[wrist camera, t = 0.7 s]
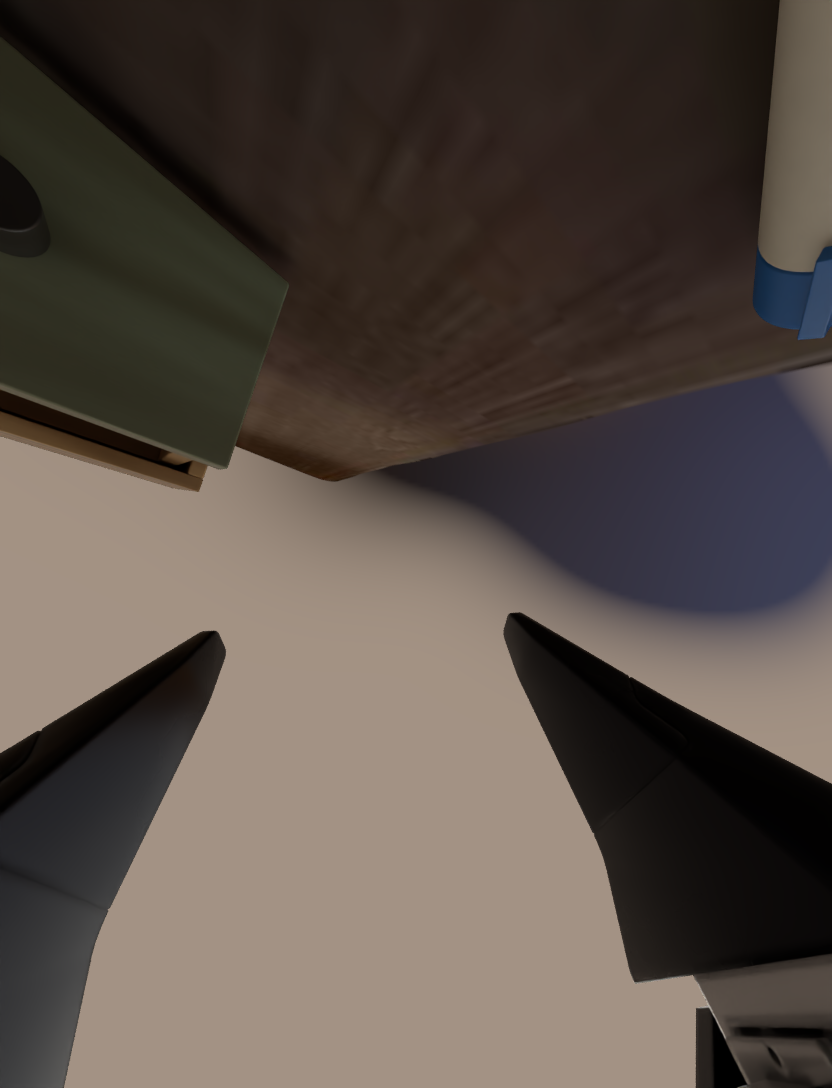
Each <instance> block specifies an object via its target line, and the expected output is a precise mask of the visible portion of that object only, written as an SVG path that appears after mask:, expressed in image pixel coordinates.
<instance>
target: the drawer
mask: <svg viewBox="0 0 832 1088" xmlns="http://www.w3.org/2000/svg"><path fill="white" fill-rule="evenodd" d="M288 287H289V283H288V282H287V281H286V280H284V279H283V278H282V277H281V276H280V275H279V274H277V273H276V272H275V271H274V270H273V269H272V268H270V267H269V266H268V265H267V264H266V263H265V262H263V261H262V260H261V259H260V258H259V257H258V256H256V255H255V254H254V253H253V252H252V251H251V250H249V249H248V248H247V247H246V246H245V245H244V244H242V243H241V242H240V241H239V240H238V239H237V238H235V237H234V236H233V235H232V234H231V233H230V232H228V231H227V230H226V229H225V228H224V227H223V226H221V225H220V224H219V223H218V222H217V221H216V220H214V219H213V218H212V217H211V216H210V215H209V214H207V213H206V212H205V211H204V210H203V209H202V208H200V207H199V206H198V205H197V204H196V203H195V202H193V201H192V200H191V199H190V198H189V197H188V196H186V195H185V194H184V193H183V192H182V191H181V190H179V189H178V188H177V187H176V186H175V185H174V184H172V183H171V182H170V181H169V180H168V179H167V178H165V177H164V176H163V175H162V174H161V173H160V172H158V171H157V170H156V169H155V168H154V167H153V166H151V165H150V164H149V163H148V162H147V161H146V160H144V159H143V158H142V157H141V156H140V155H139V154H137V153H136V152H135V151H134V150H133V149H132V148H130V147H129V146H128V145H127V144H126V143H125V142H123V141H122V140H121V139H120V138H119V137H118V136H116V135H115V134H114V133H113V132H112V131H111V130H109V129H108V128H107V127H106V126H105V125H104V124H102V123H101V122H100V121H99V120H98V119H97V118H95V117H94V116H93V115H92V114H91V113H90V112H88V111H87V110H86V109H85V108H84V107H83V106H81V105H80V104H79V103H78V102H77V101H76V100H74V99H73V98H72V97H71V96H70V95H69V94H67V93H66V92H65V91H64V90H63V89H62V88H60V87H59V86H58V85H57V84H56V83H55V82H53V81H52V80H51V79H50V78H49V77H48V76H46V75H45V74H44V73H43V72H42V71H41V70H39V69H38V68H37V67H36V66H35V65H34V64H32V63H31V62H30V61H29V60H28V59H27V58H25V57H24V56H23V55H22V54H21V53H20V52H18V51H17V50H16V49H15V48H14V47H13V46H11V45H10V44H9V43H8V42H7V41H6V40H4V39H3V38H2V37H1V36H0V410H3V411H6V412H9V413H12V414H15V415H18V416H21V417H24V418H27V419H29V420H32V421H35V422H38V423H41V424H44V425H47V426H50V427H53V428H56V429H59V430H62V431H65V432H68V433H71V434H74V435H77V436H80V437H83V438H86V439H89V440H92V441H95V442H97V443H100V444H103V445H106V446H109V447H112V448H115V449H118V450H121V451H124V452H127V453H130V454H133V455H136V456H139V457H142V458H145V459H148V460H151V461H154V462H157V463H160V464H163V465H165V466H168V467H173V466H176V465H179V464H182V463H185V462H189V461H192V460H194V461H197V462H200V463H202V464H205V465H208V466H211V467H213V468H216V469H227V468H228V465H229V462H230V459H231V456H232V453H233V450H234V447H235V444H236V441H237V438H238V435H239V432H240V429H241V426H242V423H243V420H244V418H245V415H246V412H247V409H248V406H249V403H250V400H251V397H252V394H253V391H254V388H255V385H256V382H257V379H258V376H259V373H260V370H261V367H262V364H263V361H264V358H265V355H266V352H267V349H268V346H269V343H270V340H271V337H272V334H273V331H274V328H275V325H276V322H277V320H278V317H279V314H280V311H281V308H282V305H283V302H284V299H285V296H286V293H287V290H288Z"/></svg>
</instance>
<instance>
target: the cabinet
mask: <svg viewBox="0 0 832 1088" xmlns="http://www.w3.org/2000/svg"><path fill="white" fill-rule="evenodd" d="M0 436H1V437H5V438H8V439H12V440H15V441H18V442H21V443H25V444H29V445H31V446H35V447H38V448H42V449H45V450H48V451H51V452H54V453H58V454H61V455H64V456H68V457H71V458H74V459H78V460H81V461H84V462H88V463H91V464H94V465H98V466H101V467H104V468H108V469H111V470H114V471H118V472H121V473H124V474H127V475H131V476H134V477H137V478H141V479H144V480H147V481H151V482H154V483H158V484H161V485H164V486H168V487H171V488H175V489H182V490H189V491H196V492H199V490H200V487H201V484H202V481H203V478H204V475H205V472H206V469H207V466H208V465H205V464H202V463H200V462H197V461H194V460H192V461H189V462H185V463H182V464H179V465H176V466H173V467H168V466H165V465H163V464H160V463H157V462H154V461H151V460H148V459H145V458H142V457H139V456H136V455H133V454H130V453H127V452H124V451H121V450H118V449H115V448H112V447H109V446H106V445H103V444H100V443H97V442H95V441H92V440H89V439H86V438H83V437H80V436H77V435H74V434H71V433H68V432H65V431H62V430H59V429H56V428H53V427H50V426H47V425H44V424H41V423H38V422H35V421H32V420H29V419H27V418H24V417H21V416H18V415H15V414H12V413H9V412H6V411H3V410H0Z"/></svg>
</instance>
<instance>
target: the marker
mask: <svg viewBox="0 0 832 1088" xmlns="http://www.w3.org/2000/svg"><path fill="white" fill-rule="evenodd" d="M753 305H754V308H755V310H756V312H757V314H758V315H759V316H760V317H761V318H762V319H763V320H765V321H766V322H768V323H770V324H772V325H775V326H778V327H782V328H788V329H799V333H798V337H797V339H798V340H801V339H814V338H823V337H824V336H825V335H826V333H827V332H828V330H829V328H830V327H832V0H780V4H779V15H778V26H777V37H776V48H775V59H774V70H773V81H772V92H771V103H770V114H769V125H768V136H767V147H766V158H765V169H764V180H763V191H762V202H761V213H760V224H759V235H758V246H757V257H756V268H755V279H754V290H753Z"/></svg>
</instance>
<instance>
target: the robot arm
mask: <svg viewBox="0 0 832 1088" xmlns="http://www.w3.org/2000/svg"><path fill="white" fill-rule="evenodd" d="M504 638H505V641H506V644H507V647H508V650H509V653H510V656H511V659H512V662H513V665H514V667H515V670H516V673H517V676H518V678H519V680H520V682H521V685H522V686H523V689H524V691H525V693H526V695H527V697H528V699H529V701H530V703H531V705H532V707H533V709H534V712H535V713H536V716H537V718H538V720H539V722H540V724H541V726H542V728H543V730H544V732H545V734H546V736H547V739H548V741H549V743H550V745H551V747H552V749H553V751H554V753H555V755H556V757H557V759H558V761H559V764H560V766H561V767H562V770H563V771H564V774H565V776H566V778H567V780H568V782H569V784H570V786H571V789H572V790H573V793H574V795H575V797H576V799H577V801H578V803H579V805H580V807H581V809H582V811H583V814H584V815H585V818H586V820H587V822H588V824H589V826H590V828H591V830H592V832H593V833H594V836H595V839H596V841H597V843H598V845H599V848H600V850H601V853H602V856H603V859H604V862H605V866H606V869H607V874H608V878H609V882H610V886H611V891H612V896H613V900H614V904H615V909H616V913H617V918H618V922H619V926H620V931H621V935H622V939H623V944H624V948H625V953H626V957H627V961H628V966H629V969H630V973H631V976H632V978H633V980H634V983H635V984H637V983H643V982H651V981H657V980H663V979H670V978H677V977H683V976H690V975H693V976H694V978H695V980H696V982H697V984H698V986H699V988H700V990H701V992H702V994H703V996H704V997H705V1000H706V1001H707V1003H708V1006H705V1007H700V1008H696V1088H832V784H831V783H829V782H827V781H825V780H823V779H821V778H819V777H817V776H815V775H813V774H812V773H810V772H808V771H806V770H804V769H802V768H800V767H798V766H796V765H794V764H793V763H791V762H789V761H787V760H785V759H783V758H781V757H779V756H777V755H775V754H773V753H771V752H769V751H768V750H766V749H764V748H762V747H760V746H758V745H756V744H754V743H752V742H750V741H748V740H746V739H745V738H743V737H741V736H739V735H737V734H735V733H733V732H731V731H729V730H727V729H725V728H723V727H721V726H720V725H718V724H716V723H714V722H712V721H710V720H708V719H706V718H704V717H702V716H700V715H698V714H697V713H695V712H693V711H691V710H689V709H687V708H685V707H683V706H681V705H680V704H678V703H676V702H674V701H672V700H670V699H668V698H667V697H665V696H663V695H661V694H660V693H658V692H656V691H654V690H653V689H651V688H649V687H647V686H646V685H644V684H642V683H640V682H639V681H637V680H635V679H634V678H632V677H630V678H629V676H628V675H626V674H624V673H623V672H621V671H619V670H617V669H616V668H614V667H613V666H611V665H609V664H607V663H606V662H604V661H602V660H601V659H599V658H597V657H596V656H594V655H592V654H591V653H589V652H587V651H585V650H584V649H582V648H580V647H579V646H577V645H575V644H573V643H572V642H570V641H568V640H567V639H565V638H563V637H562V636H560V635H558V634H557V633H555V632H553V631H551V630H550V629H548V628H546V627H545V626H543V625H541V624H539V623H538V622H536V621H534V620H533V619H531V618H529V617H528V616H526V615H524V614H522V613H520V612H519V613H510V614H509V615H508V617H507V620H506V624H505V627H504ZM225 656H226V649H225V646H224V644H223V642H222V640H221V637H220V635H219V633H218V632H217V631H203V632H200V633H199V634H197V635H195V636H193V637H192V638H190V639H188V640H187V641H185V642H183V643H182V644H180V645H178V646H177V647H175V648H174V649H172V650H170V651H169V652H167V653H165V654H164V655H162V656H161V657H159V658H157V659H156V660H154V661H152V662H151V663H149V664H147V665H146V666H144V667H142V668H141V669H139V670H138V671H136V672H134V673H133V674H131V675H129V676H128V677H126V678H124V679H123V680H121V681H119V682H118V683H116V684H115V685H113V686H111V687H110V688H108V689H106V690H105V691H103V692H101V693H100V694H98V695H97V696H95V697H93V698H92V699H90V700H88V701H87V702H85V703H83V704H82V705H80V706H78V707H77V708H75V709H74V710H72V711H70V712H69V713H67V714H65V715H64V716H62V717H60V718H59V719H57V720H55V721H54V722H52V723H51V724H49V725H47V726H46V727H44V728H43V729H42V731H37V732H35V733H33V734H32V735H30V736H28V737H27V738H25V739H23V740H22V741H20V742H19V743H17V744H15V745H14V746H12V747H10V748H8V749H7V750H5V751H3V752H2V753H0V1088H64V1084H65V1080H66V1075H67V1070H68V1066H69V1061H70V1056H71V1051H72V1046H73V1042H74V1037H75V1032H76V1028H77V1023H78V1018H79V1013H80V1009H81V1004H82V999H83V995H84V990H85V985H86V980H87V976H88V971H89V966H90V962H91V956H92V953H93V949H94V945H95V942H96V940H97V937H98V934H99V931H100V929H101V926H102V924H103V922H104V919H105V917H106V915H107V912H108V910H107V909H109V908H110V907H111V905H112V903H113V900H114V898H115V896H116V894H117V892H118V890H119V888H120V886H121V884H122V882H123V880H124V878H125V876H126V874H127V872H128V869H129V867H130V865H131V863H132V861H133V859H134V857H135V855H136V853H137V851H138V849H139V847H140V845H141V843H142V841H143V839H144V836H145V834H146V832H147V830H148V828H149V826H150V824H151V822H152V820H153V818H154V816H155V814H156V811H157V810H158V807H159V805H160V803H161V801H162V799H163V797H164V795H165V793H166V791H167V789H168V787H169V785H170V783H171V780H172V778H173V776H174V774H175V772H176V770H177V768H178V766H179V764H180V762H181V760H182V758H183V756H184V753H185V752H186V750H187V748H188V745H189V743H190V741H191V739H192V737H193V735H194V733H195V730H196V729H197V727H198V725H199V723H200V721H201V719H202V717H203V715H204V712H205V710H206V708H207V706H208V704H209V701H210V698H211V696H212V693H213V691H214V688H215V685H216V682H217V679H218V676H219V673H220V670H221V668H222V665H223V662H224V659H225Z"/></svg>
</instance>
